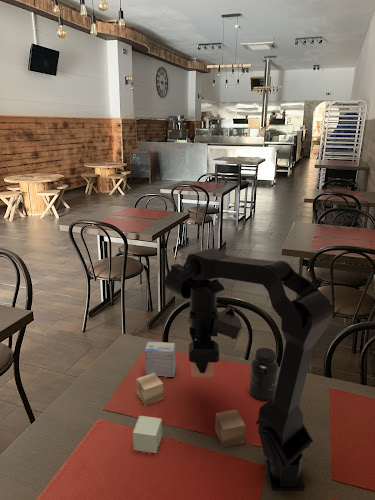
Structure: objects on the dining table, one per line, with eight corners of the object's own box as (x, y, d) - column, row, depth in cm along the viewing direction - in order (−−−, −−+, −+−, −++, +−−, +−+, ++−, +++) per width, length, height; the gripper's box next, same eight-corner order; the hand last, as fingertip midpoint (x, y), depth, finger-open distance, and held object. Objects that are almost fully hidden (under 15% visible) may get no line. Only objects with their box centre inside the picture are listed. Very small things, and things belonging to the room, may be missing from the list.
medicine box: (175, 369, 111) (175, 342, 108) (173, 378, 107) (173, 351, 104) (148, 367, 112) (147, 340, 109) (145, 377, 108) (144, 349, 105)
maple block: (163, 400, 99) (163, 383, 98) (145, 406, 97) (144, 389, 95) (155, 388, 103) (154, 372, 102) (137, 394, 101) (136, 378, 99)
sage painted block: (156, 454, 83) (155, 435, 81) (133, 451, 84) (132, 432, 82) (162, 436, 88) (161, 418, 86) (140, 433, 89) (139, 415, 87)
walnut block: (244, 443, 86) (245, 425, 84) (222, 448, 85) (223, 429, 83) (235, 426, 90) (236, 409, 89) (215, 431, 89) (215, 413, 88)
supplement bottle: (278, 401, 98) (282, 360, 95) (251, 401, 99) (253, 360, 95) (273, 384, 105) (276, 345, 101) (247, 383, 105) (249, 344, 101)
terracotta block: (213, 377, 89) (213, 358, 87) (191, 376, 89) (191, 358, 87) (212, 363, 94) (212, 345, 92) (191, 363, 94) (191, 345, 92)
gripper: (245, 326, 77) (241, 392, 82) (235, 287, 95) (232, 343, 100) (189, 326, 77) (188, 392, 82) (189, 287, 95) (189, 343, 100)
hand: (202, 365), depth 91 cm, fingers closed on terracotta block, 5 cm apart
